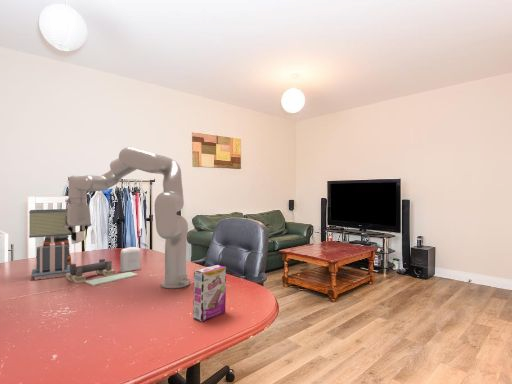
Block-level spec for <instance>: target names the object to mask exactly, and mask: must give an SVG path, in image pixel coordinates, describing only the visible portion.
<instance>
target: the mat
mask: <svg viewBox="0 0 512 384" xmlns="http://www.w3.org/2000/svg"><path fill="white" fill-rule="evenodd" d="M137 276H139V274H138V273H135V272H132V271H126V272H121V273H118V274H115V275H112V276H107V277H106V276H103V277H99V278H94V279H89V280H86V281H85V282H84V283H85V284H88V285H90V286H92V287H95V286H99V285H103V284H107V283H111V282H112V283H113V282H116V281H120V280H121V281H122V280H125V279H129V278H134V277H137Z"/></svg>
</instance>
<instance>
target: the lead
mask: <svg viewBox="0 0 512 384" xmlns="http://www.w3.org/2000/svg"><path fill="white" fill-rule="evenodd" d="M81 266H82V274H84V273H85V274H86V273H92V272H96V271H97V270H102V269H106V261H105V262H101V263H99V262H96V263H91V264H90V263H89V264H85V265H84V264H83V265H81ZM76 267H77V266H76ZM76 267H72V268H71V269H70V272H69V273H71V275H76Z"/></svg>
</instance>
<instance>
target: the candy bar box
mask: <svg viewBox="0 0 512 384" xmlns="http://www.w3.org/2000/svg"><path fill="white" fill-rule="evenodd" d="M226 286H227V267H226V266H223V265H219V264H216V265H212V266H207V267H203V268H199V269H195V270H193V297H192V298H193V300H192V301H193V305H192V319H194V320H197V321H198V322H201V323H202V322H205V321H207V320H210V319H212V318H214V317H217V316H219V315H222V314H225V313H226V299H227V298H226V295H227V294H226V293H227V292H226V290H227V287H226Z"/></svg>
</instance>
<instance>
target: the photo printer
mask: <svg viewBox="0 0 512 384" xmlns="http://www.w3.org/2000/svg"><path fill="white" fill-rule="evenodd" d="M119 267H120V269H119V271H120V272H121V273H126V272H132V271H138V270H140V269H141V248H140V247H135V246H129V247H125V248H122V249H121V250H120V266H119Z"/></svg>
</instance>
